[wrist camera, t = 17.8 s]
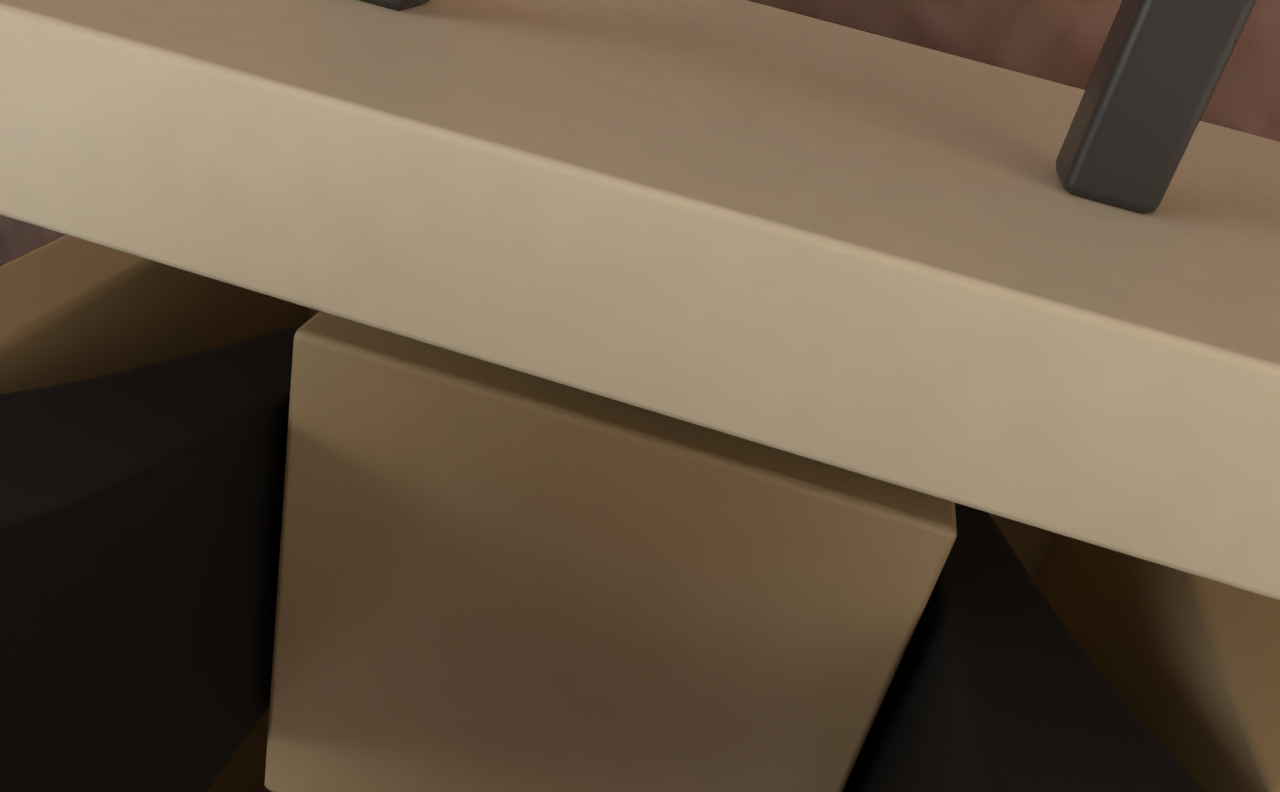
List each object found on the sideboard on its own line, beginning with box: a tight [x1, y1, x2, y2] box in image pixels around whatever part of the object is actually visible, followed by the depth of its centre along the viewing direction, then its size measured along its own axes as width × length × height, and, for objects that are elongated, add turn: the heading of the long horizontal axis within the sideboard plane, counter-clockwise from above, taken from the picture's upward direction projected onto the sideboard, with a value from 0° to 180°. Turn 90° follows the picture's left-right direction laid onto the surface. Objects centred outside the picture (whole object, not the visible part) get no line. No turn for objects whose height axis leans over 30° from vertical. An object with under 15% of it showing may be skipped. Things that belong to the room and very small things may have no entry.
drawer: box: [0, 0, 1280, 792], centre depth 10 cm, size 18×11×6 cm, turn 168°
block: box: [264, 311, 957, 792], centre depth 10 cm, size 4×4×4 cm
